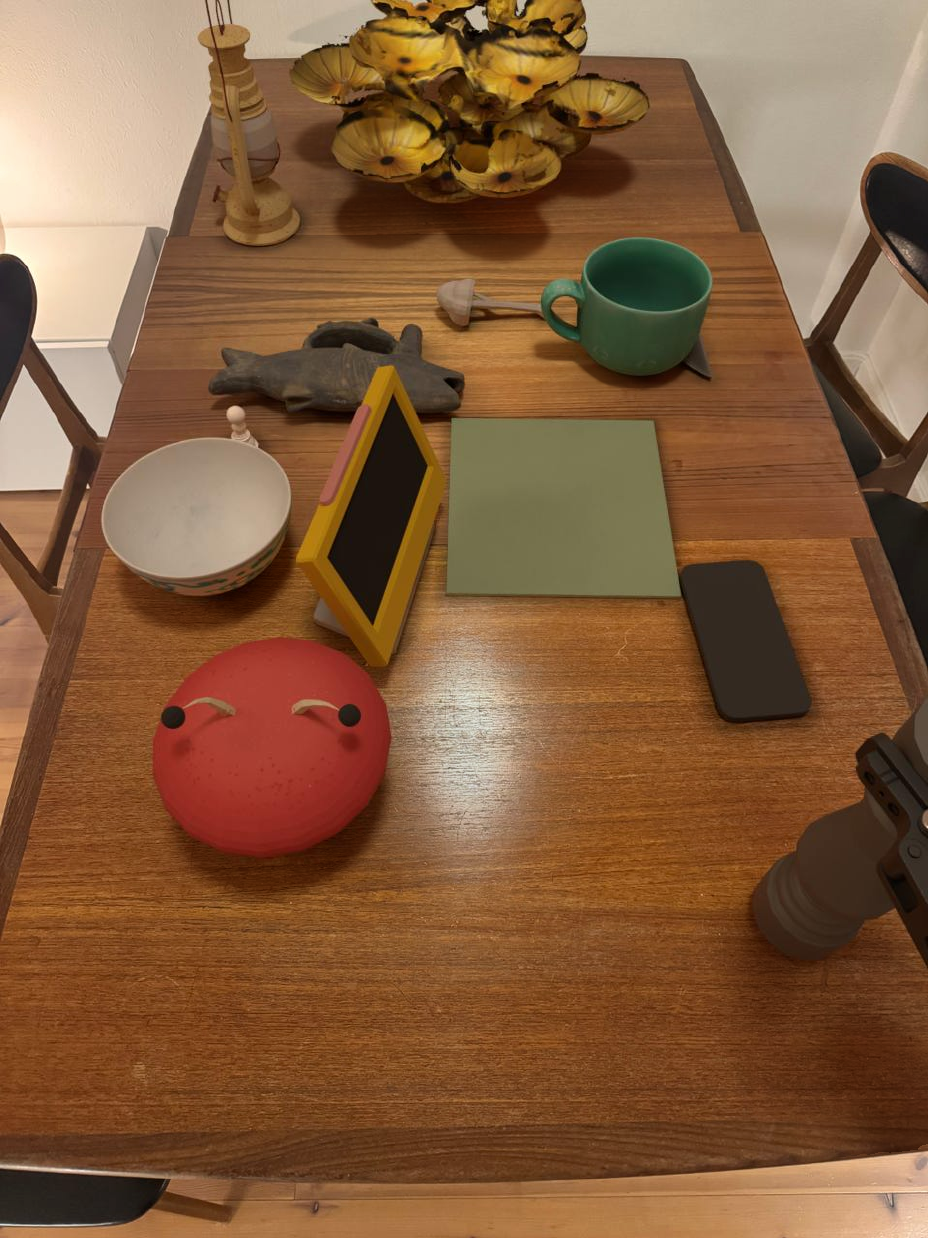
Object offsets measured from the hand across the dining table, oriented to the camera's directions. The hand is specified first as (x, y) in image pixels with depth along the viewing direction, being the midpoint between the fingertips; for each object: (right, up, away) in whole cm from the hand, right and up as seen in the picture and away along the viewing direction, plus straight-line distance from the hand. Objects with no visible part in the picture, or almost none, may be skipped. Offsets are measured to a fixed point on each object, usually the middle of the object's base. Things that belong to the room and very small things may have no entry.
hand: (922, 719), depth 40 cm
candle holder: (+1, -15, +18) cm, 23 cm away
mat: (-13, +15, +40) cm, 45 cm away
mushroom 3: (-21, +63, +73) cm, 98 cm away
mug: (-5, +33, +53) cm, 62 cm away
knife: (+3, +35, +54) cm, 64 cm away
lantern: (-46, +52, +66) cm, 96 cm away
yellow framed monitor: (-29, +8, +35) cm, 46 cm away
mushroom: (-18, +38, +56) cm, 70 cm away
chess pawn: (-42, +21, +44) cm, 65 cm away
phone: (+2, +3, +32) cm, 32 cm away
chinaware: (-43, +9, +36) cm, 57 cm away
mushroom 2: (-34, -8, +24) cm, 43 cm away
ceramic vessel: (-33, +29, +50) cm, 67 cm away
